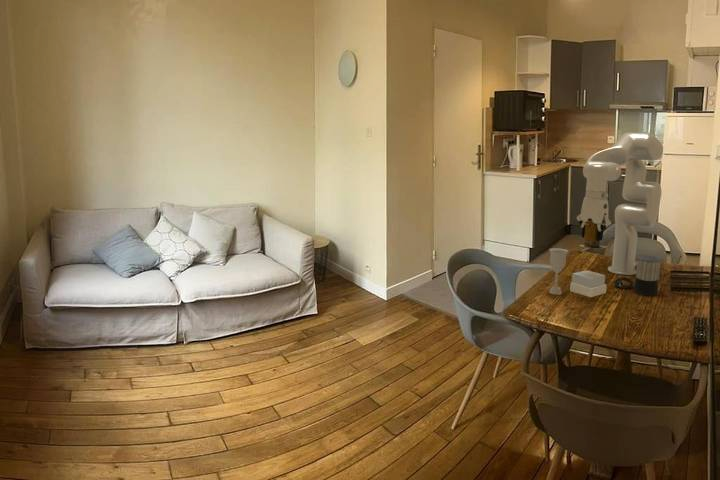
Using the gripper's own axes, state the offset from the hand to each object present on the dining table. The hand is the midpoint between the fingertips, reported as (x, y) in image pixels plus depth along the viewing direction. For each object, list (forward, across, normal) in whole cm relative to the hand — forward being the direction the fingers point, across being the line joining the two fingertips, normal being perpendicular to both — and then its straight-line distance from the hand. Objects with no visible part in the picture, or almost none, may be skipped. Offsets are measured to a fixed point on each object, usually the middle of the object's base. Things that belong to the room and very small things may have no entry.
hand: (591, 238), depth 241 cm
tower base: (+23, 0, 0) cm, 23 cm away
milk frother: (+23, -10, -19) cm, 31 cm away
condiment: (+3, -1, 0) cm, 4 cm away
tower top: (+19, 0, 0) cm, 19 cm away
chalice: (+23, +6, +12) cm, 27 cm away
